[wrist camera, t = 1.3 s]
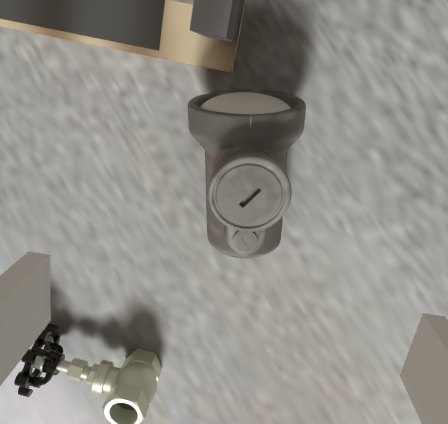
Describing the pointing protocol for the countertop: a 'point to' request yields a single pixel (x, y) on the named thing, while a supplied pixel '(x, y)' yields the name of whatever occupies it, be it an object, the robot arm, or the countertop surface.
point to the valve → (95, 377)
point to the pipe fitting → (246, 165)
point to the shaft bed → (139, 26)
